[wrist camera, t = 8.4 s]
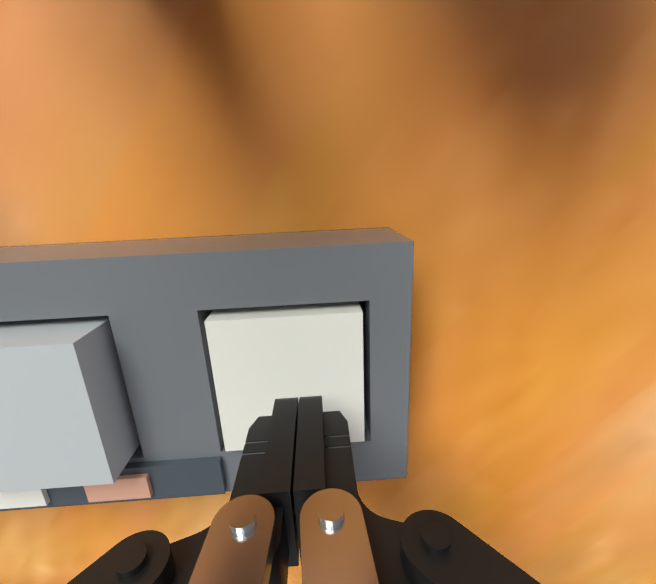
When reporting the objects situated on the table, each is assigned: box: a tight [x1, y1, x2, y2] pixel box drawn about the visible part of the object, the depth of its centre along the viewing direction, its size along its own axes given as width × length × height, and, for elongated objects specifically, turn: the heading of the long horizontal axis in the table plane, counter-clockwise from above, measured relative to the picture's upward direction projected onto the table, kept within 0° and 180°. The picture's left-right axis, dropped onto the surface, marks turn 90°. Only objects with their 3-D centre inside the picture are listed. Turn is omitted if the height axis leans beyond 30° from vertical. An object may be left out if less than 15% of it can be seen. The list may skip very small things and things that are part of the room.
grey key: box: [0, 316, 140, 492], centre depth 13 cm, size 5×5×3 cm
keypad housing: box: [0, 227, 414, 511], centre depth 14 cm, size 27×10×4 cm, turn 93°
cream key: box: [204, 301, 365, 451], centre depth 14 cm, size 5×5×3 cm
